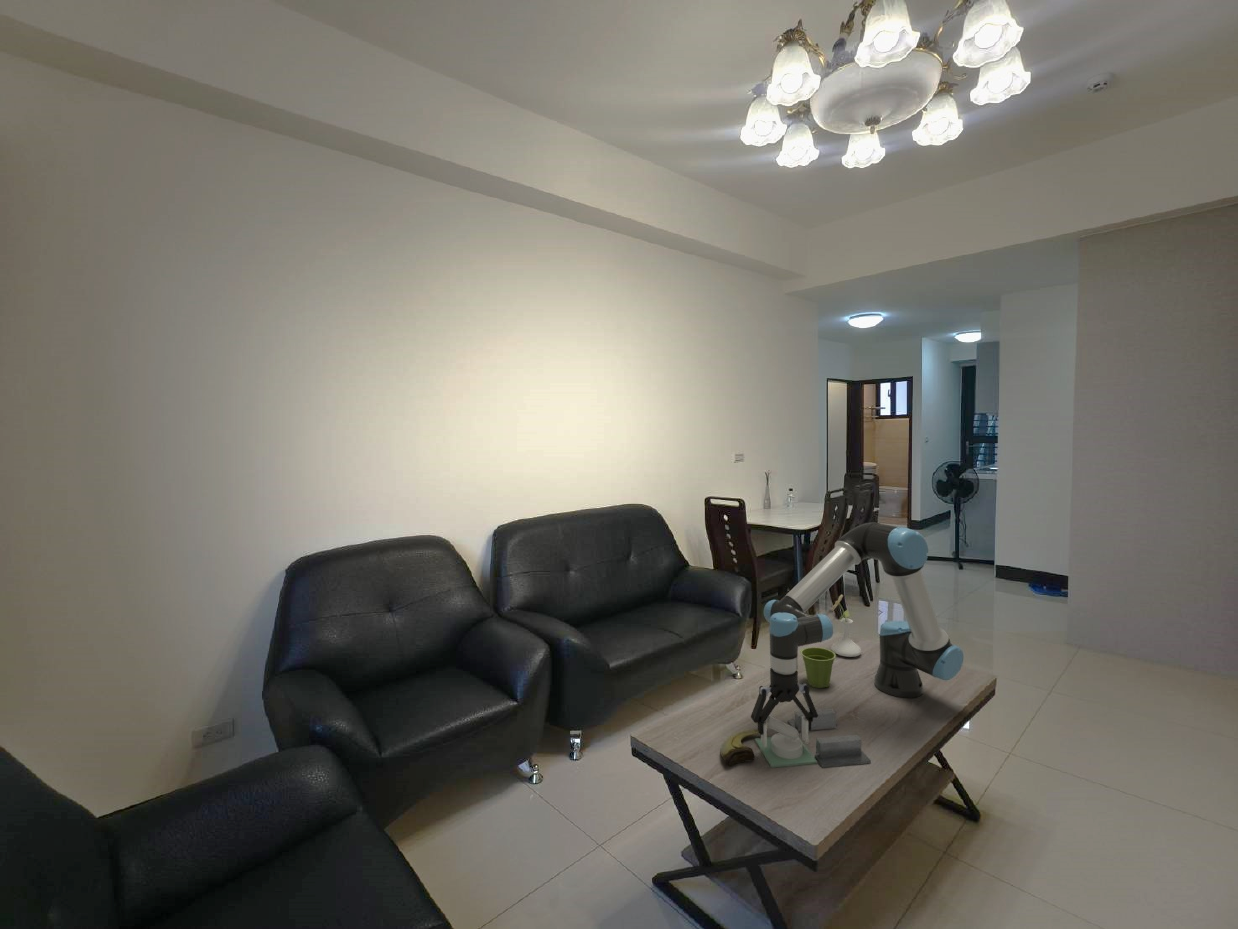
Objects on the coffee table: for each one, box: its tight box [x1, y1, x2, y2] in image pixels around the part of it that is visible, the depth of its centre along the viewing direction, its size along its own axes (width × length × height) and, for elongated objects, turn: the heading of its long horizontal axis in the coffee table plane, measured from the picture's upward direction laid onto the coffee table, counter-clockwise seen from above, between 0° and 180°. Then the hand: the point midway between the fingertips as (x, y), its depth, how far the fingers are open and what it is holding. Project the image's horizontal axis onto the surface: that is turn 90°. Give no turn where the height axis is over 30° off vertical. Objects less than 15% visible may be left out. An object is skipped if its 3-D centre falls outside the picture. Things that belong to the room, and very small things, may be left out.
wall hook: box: [765, 715, 804, 759], centre depth 154 cm, size 9×10×10 cm
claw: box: [720, 729, 760, 766], centre depth 156 cm, size 20×10×3 cm, turn 152°
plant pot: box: [800, 646, 837, 689], centre depth 193 cm, size 12×12×11 cm
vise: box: [787, 708, 872, 769], centre depth 158 cm, size 14×23×5 cm, turn 6°
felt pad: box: [754, 736, 818, 769], centre depth 154 cm, size 13×13×1 cm
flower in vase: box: [830, 594, 863, 658], centre depth 217 cm, size 13×11×25 cm
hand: (784, 742), depth 154 cm, fingers open, 12 cm apart
